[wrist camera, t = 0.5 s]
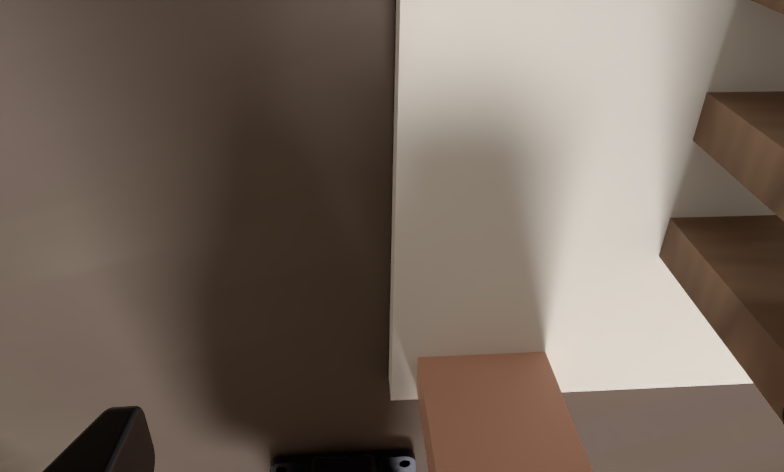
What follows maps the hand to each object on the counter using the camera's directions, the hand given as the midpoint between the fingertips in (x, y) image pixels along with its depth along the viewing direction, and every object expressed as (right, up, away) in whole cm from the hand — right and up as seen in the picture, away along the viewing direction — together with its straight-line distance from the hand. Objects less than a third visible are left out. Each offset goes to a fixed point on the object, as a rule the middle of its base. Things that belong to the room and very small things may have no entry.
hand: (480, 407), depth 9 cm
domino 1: (+2, -3, +17) cm, 17 cm away
